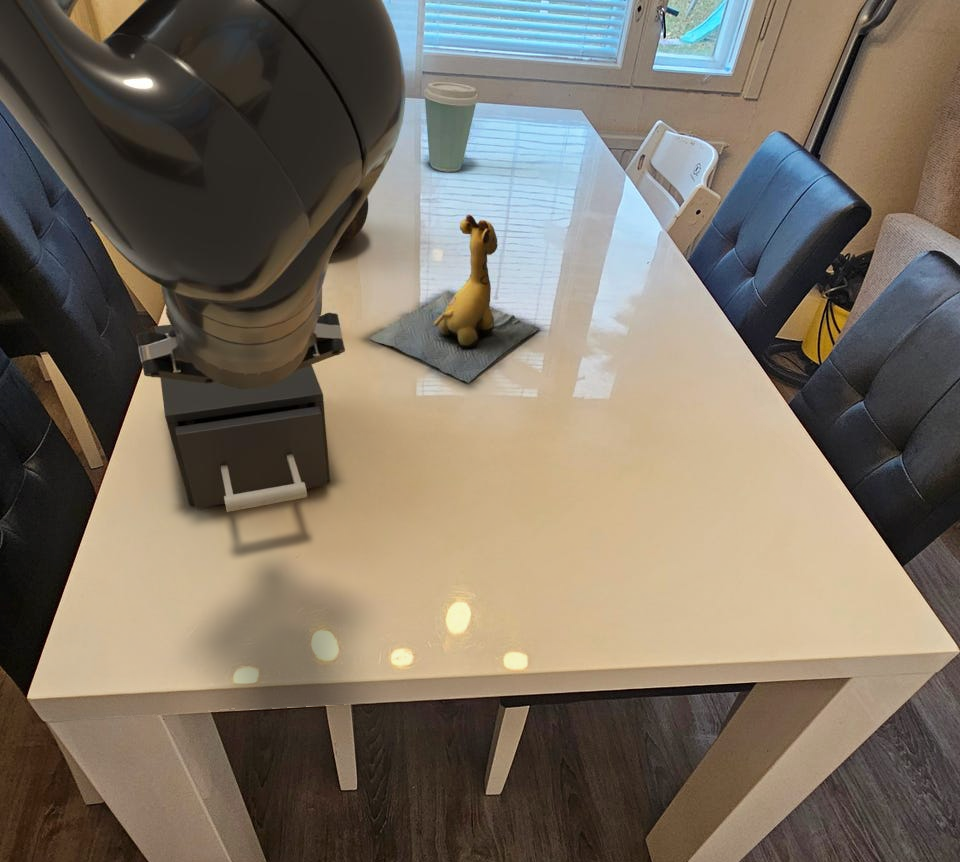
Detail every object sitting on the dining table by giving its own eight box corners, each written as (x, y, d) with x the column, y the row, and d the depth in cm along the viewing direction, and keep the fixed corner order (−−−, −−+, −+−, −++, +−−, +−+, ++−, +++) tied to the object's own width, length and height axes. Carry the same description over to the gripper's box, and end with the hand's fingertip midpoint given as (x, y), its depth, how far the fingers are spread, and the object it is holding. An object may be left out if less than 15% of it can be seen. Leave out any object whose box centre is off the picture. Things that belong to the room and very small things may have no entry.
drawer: (340, 523, 67) (335, 450, 61) (202, 550, 63) (181, 476, 57) (299, 403, 81) (291, 334, 74) (182, 420, 77) (164, 348, 70)
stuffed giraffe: (540, 329, 99) (553, 214, 88) (468, 387, 88) (471, 264, 77) (448, 295, 105) (449, 184, 94) (370, 345, 94) (360, 227, 83)
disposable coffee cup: (418, 157, 147) (420, 75, 137) (469, 159, 149) (474, 78, 139) (424, 175, 140) (427, 89, 130) (477, 177, 142) (484, 93, 132)
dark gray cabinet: (330, 480, 73) (323, 393, 66) (189, 505, 69) (164, 415, 61) (300, 395, 83) (291, 312, 76) (176, 412, 79) (154, 326, 72)
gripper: (356, 221, 38) (323, 316, 55) (88, 237, 34) (140, 335, 51) (382, 356, 39) (342, 411, 55) (120, 389, 35) (161, 437, 51)
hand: (245, 374), depth 53 cm, fingers closed
